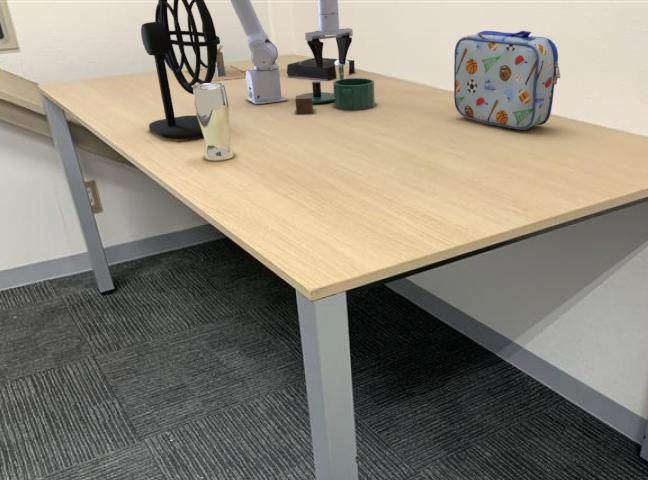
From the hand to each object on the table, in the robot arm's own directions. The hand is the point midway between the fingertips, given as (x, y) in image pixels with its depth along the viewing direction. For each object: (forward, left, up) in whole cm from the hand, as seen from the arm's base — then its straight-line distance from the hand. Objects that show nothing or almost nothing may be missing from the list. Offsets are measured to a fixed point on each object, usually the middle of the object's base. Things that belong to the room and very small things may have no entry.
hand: (331, 65), depth 192 cm
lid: (-4, +1, -9) cm, 10 cm away
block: (-13, -11, -9) cm, 20 cm away
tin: (+2, -11, -9) cm, 15 cm away
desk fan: (-46, -14, -10) cm, 49 cm away
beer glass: (-46, -41, -10) cm, 63 cm away
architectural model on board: (-16, +62, -10) cm, 65 cm away
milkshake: (+8, +9, -10) cm, 16 cm away
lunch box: (+24, -51, -10) cm, 57 cm away
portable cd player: (+14, +39, -10) cm, 43 cm away
